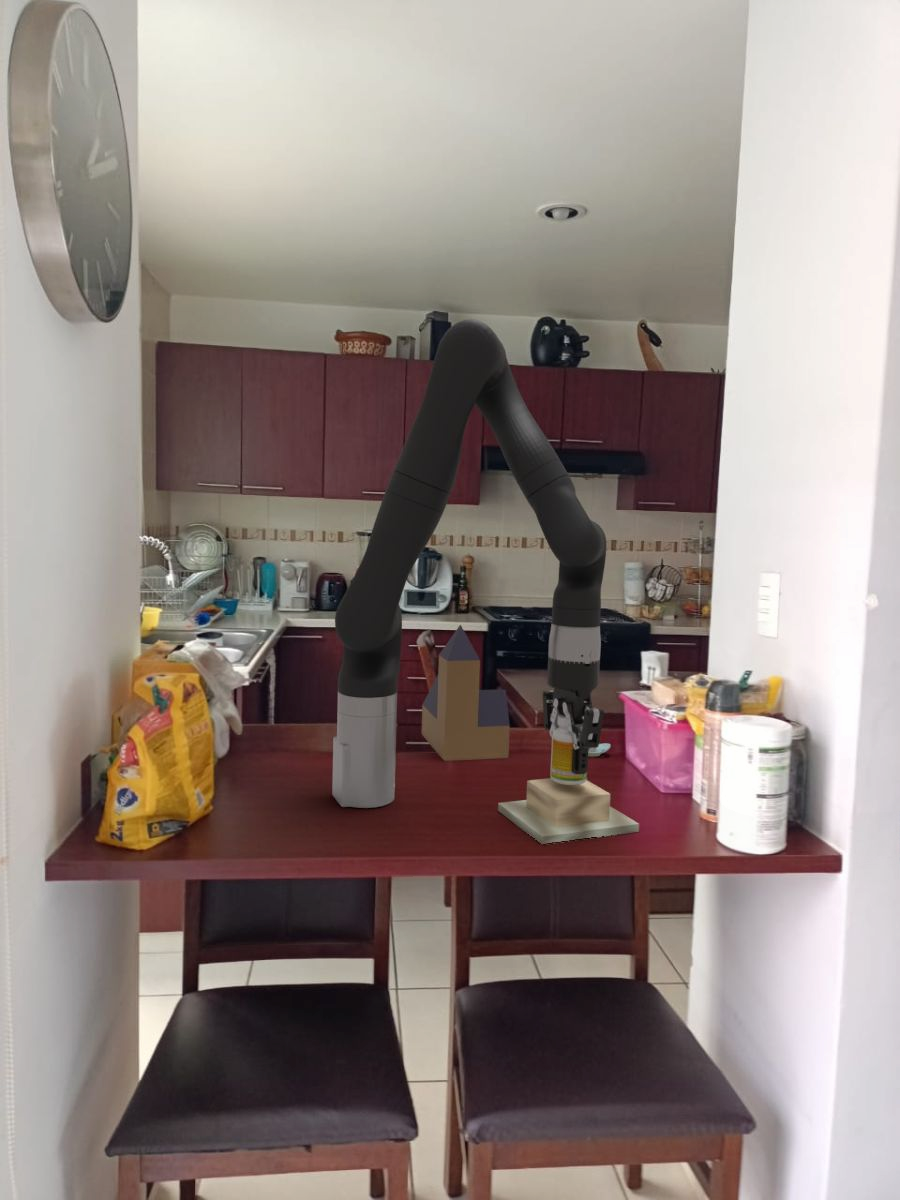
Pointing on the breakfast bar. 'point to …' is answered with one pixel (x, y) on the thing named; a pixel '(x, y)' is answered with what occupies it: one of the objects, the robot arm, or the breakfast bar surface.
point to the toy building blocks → (464, 708)
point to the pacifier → (598, 749)
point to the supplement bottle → (564, 755)
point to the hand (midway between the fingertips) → (568, 766)
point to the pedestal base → (568, 831)
